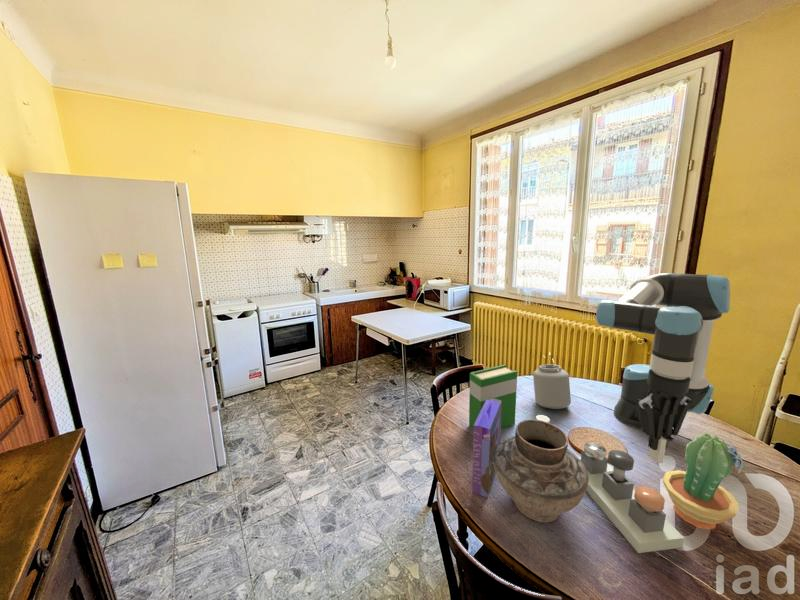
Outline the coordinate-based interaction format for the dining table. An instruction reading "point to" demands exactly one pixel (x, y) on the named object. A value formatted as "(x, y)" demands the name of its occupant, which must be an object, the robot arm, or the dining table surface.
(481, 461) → the cereal box
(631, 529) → the console
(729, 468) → the potted cactus
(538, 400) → the jar
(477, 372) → the hardback book
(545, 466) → the ceramic pot
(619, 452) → the middle plunger
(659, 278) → the robot arm
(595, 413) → the dining table surface
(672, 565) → the dining table surface
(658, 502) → the terracotta plunger
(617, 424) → the dining table surface
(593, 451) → the plunger
